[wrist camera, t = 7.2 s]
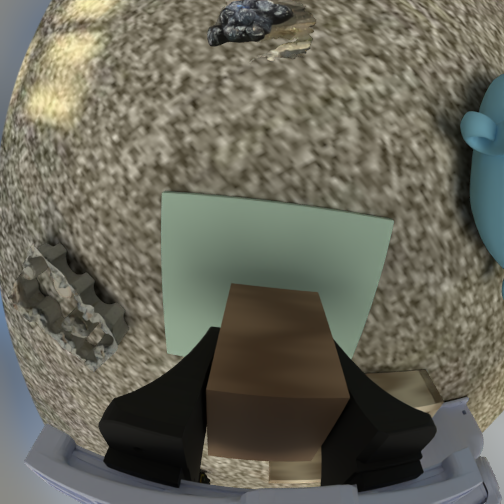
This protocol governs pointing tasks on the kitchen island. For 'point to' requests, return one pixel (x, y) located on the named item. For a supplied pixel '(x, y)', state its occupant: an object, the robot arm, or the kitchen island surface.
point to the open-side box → (395, 383)
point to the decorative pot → (488, 168)
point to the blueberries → (264, 25)
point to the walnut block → (273, 377)
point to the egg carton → (80, 319)
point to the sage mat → (265, 260)
